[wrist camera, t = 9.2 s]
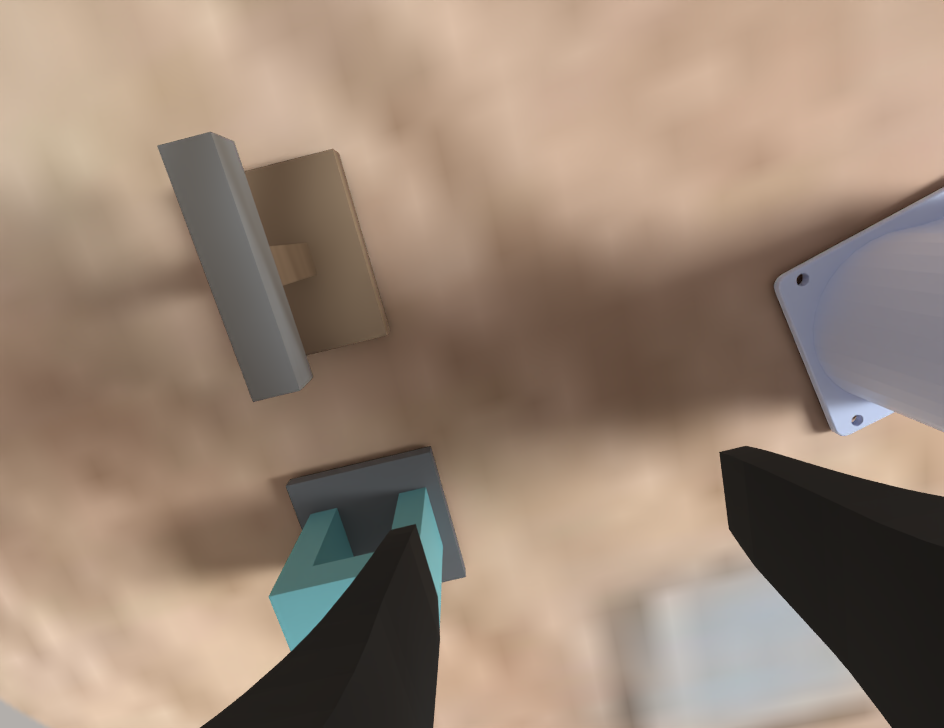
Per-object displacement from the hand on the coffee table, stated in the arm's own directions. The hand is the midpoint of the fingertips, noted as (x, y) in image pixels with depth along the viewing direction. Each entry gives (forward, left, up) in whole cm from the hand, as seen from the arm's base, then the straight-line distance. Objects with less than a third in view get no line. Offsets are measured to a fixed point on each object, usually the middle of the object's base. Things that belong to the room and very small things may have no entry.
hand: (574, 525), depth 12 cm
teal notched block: (+8, +2, -10) cm, 13 cm away
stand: (+5, -9, -10) cm, 15 cm away
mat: (+9, +3, -10) cm, 14 cm away
